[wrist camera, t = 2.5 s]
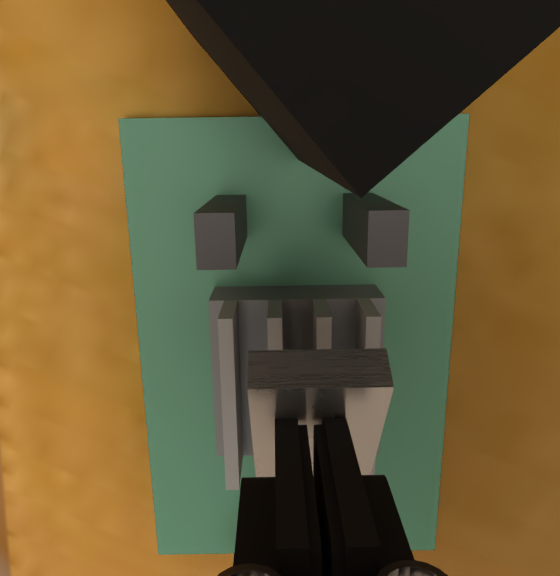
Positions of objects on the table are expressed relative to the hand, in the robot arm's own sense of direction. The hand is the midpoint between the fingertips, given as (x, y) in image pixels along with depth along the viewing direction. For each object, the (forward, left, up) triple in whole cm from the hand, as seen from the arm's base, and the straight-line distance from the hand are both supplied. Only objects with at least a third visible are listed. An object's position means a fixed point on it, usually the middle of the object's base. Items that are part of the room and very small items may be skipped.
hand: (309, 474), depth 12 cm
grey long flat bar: (-5, 0, -5) cm, 7 cm away
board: (-3, 0, -16) cm, 16 cm away
